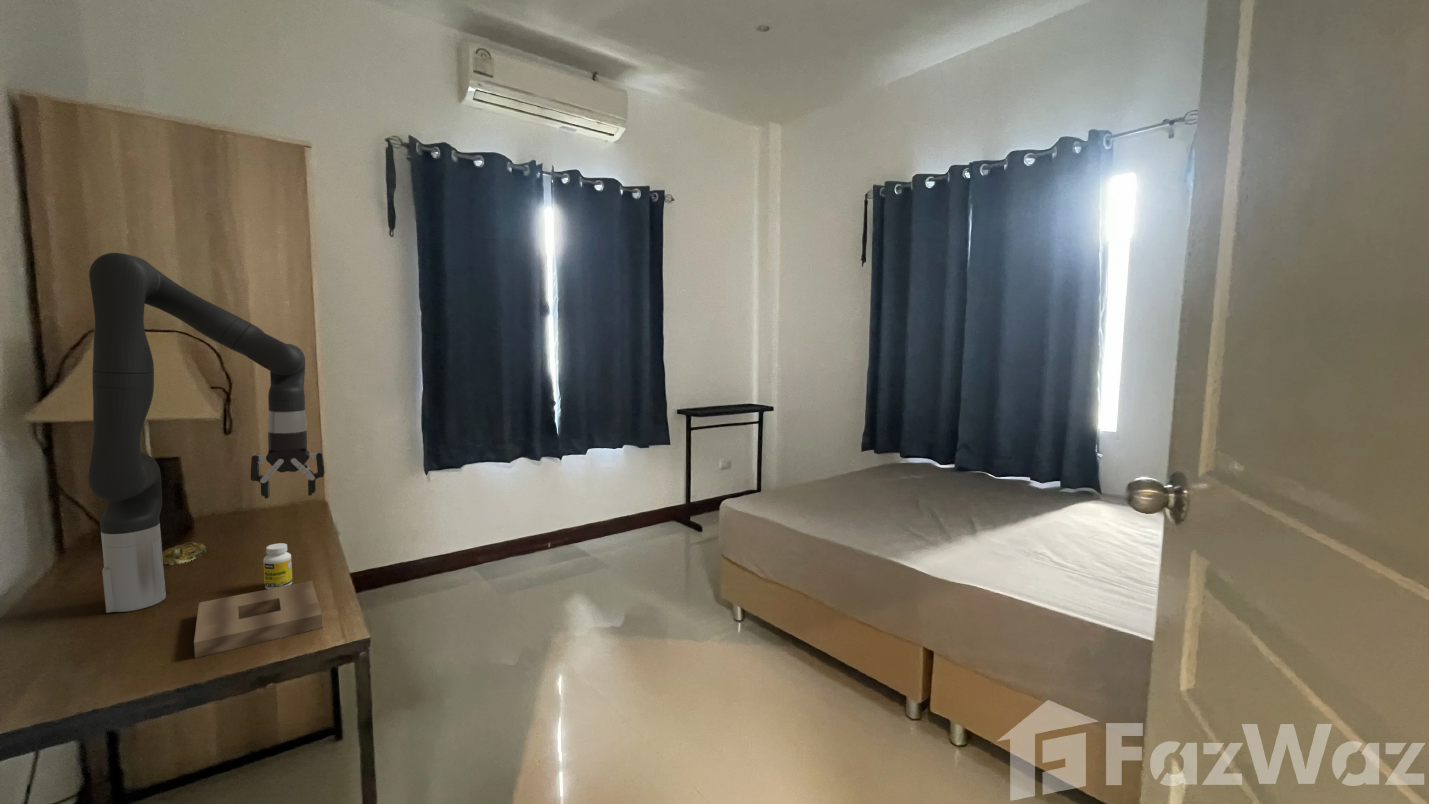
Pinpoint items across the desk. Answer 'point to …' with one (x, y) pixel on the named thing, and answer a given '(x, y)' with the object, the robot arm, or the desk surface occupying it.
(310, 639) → the desk surface
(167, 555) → the noodle cake
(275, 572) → the supplement bottle
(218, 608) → the socket board
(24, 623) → the desk surface
